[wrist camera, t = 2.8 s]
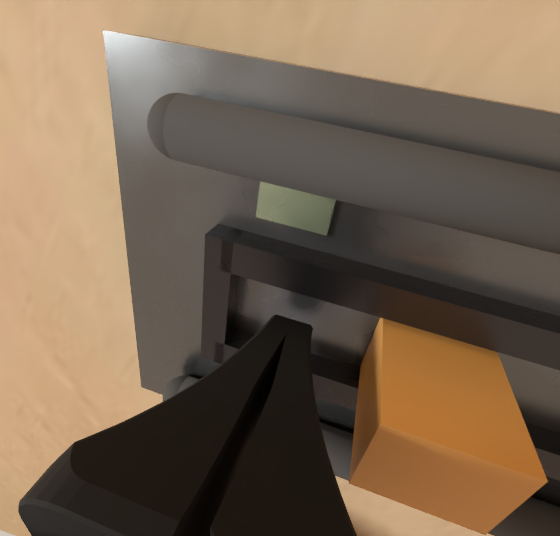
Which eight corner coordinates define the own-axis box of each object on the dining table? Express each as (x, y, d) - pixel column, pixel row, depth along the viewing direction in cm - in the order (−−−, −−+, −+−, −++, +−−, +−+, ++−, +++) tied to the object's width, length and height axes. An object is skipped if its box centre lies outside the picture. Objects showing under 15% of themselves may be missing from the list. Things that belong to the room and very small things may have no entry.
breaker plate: (614, 529, 16) (648, 599, 14) (157, 366, 19) (129, 401, 17) (1124, 217, 7) (1429, 275, 5) (135, 35, 11) (75, 25, 9)
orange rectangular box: (456, 395, 12) (485, 534, 9) (360, 365, 13) (348, 483, 9) (493, 342, 11) (547, 481, 7) (383, 309, 11) (380, 423, 8)
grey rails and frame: (597, 539, 14) (622, 594, 13) (176, 386, 17) (155, 416, 16) (1041, 266, 7) (1225, 320, 5) (169, 86, 10) (130, 87, 8)
